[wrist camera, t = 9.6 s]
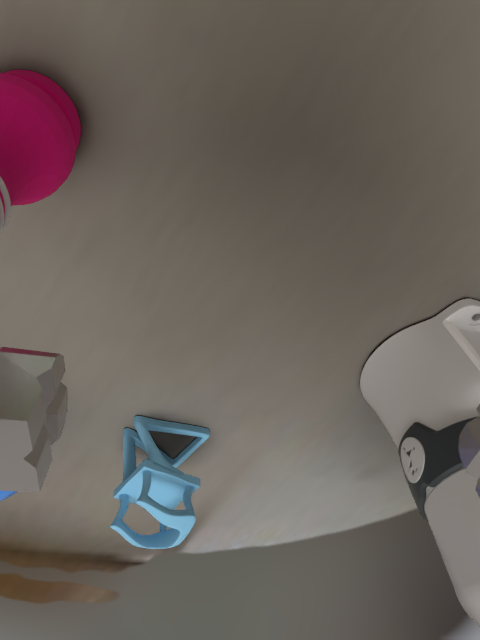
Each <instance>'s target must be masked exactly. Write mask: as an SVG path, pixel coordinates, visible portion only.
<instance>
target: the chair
mask: <svg viewBox="0 0 480 640" xmlns="http://www.w3.org/2000/svg"><path fill="white" fill-rule="evenodd" d="M134 426H135V428H136V430H137V432H138V433H137V432H136V431H134V430H132V429H130V428H125V429H124V430H123V481H122V483H121V484H120V485H119V486H118V487H117V488H116V489H115V490H114V496H113V498H116V499H119V500H120V508H119V511H118V513H117V516H116V518H115V520H114V521H113V523H112V524H111V526H110V528H112V529H114V530H116V531H117V532H118V533H120V534H121V535H122V536H123V537H124V538H125V539H126V540H127V541H128V542H129V543H131V544H132V545H134V546H137V547H143V548H150V549H164V548H171V547H174V546H177V545H178V544H180V543H181V542H182V541H183V540H184V539H185V537H186V536H187V535H188V533H189V532H190V530H191V529H192V527H193V525H194V523H195V521H196V517H195V513H194V509H193V506H192V503H191V495H192V493H193V492H194V491H195V490H197V489H198V488H199V487H200V479H199V478H196V477H194V476H191V475H187V474H184V473H183V472H181V471H180V470H178V469H176V468H177V467H178V466H179V465H180V464H181V463H182V462H183V461H184V460H185V459H186V458H187V457H189V456H190V455H191V454H192V453H193V452H194V451H195V450H196V449H197V448H198V447H199V446H200V445H201V444H202V443H203V442H204V441H206V440H207V439H208V438H209V429H207V428H204V427H199V426H194V425H188V424H181V423H175V422H169V421H162V420H157V419H152V418H147V417H143V416H135V417H134ZM148 430H151V431H158V432H166V433H174V434H182V435H189V436H197V438H196V439H195V440H194V441H193V442H192V443H191V444H190V445H189V446H188V447H186V448H185V449H184V450H183V451H182V452H181V453H180V454H179V455H178V456H177V457H176V458H175V459H172V458H170V457H169V456H168V455H166V454H165V453H164V452H162V451H161V450H160V449H159V448H157V446H156V444H155V443H154V441H153V439H152V437H151V435H150V433H149V431H148ZM135 445H136V446H138V447H139V448H141V449H142V450H144V451H145V452H146V453H147V456H148V459H145V460H144V461H143V462H142V463H141V464H140V465H139V466H138V467H137V468H136V454H135ZM182 501H183V502H184V505H185V507H186V510H173V509H174V508H175V507H176V506H177V505H178V504H179V503H180V502H182ZM129 502H130V503H135V504H138V505H140V506H142V507H143V508H145V509H146V510H147V511H148V512H149V513H150V514H151V515H152V516H153V517H154V518H156V519H157V520H158V521H159V522H160V532H159V533H157V534H153V535H140V534H137V533H135V532H134V531H133V530H131V529H130V528H129V527H128V526H127V525H126V524H125V523H124V522H123V521H122V518H123V516H124V514H125V513H126V511H127V508H128V503H129ZM167 526H168V527H171V529H169V530H167V531H166V529H167Z"/></svg>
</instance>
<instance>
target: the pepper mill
mask: <svg viewBox="0 0 480 640" xmlns="http://www.w3.org/2000/svg"><path fill="white" fill-rule="evenodd" d="M80 137H81V124H80V119H79V116H78V113H77V110H76V108H75V106H74V104H73V102H72V101H71V99H70V98H69V96H68V95H67V94H66V92H65V91H64V90H63V89H62V88H61V87H60V86H59V85H58V84H56V83H55V82H54V81H52V80H51V79H49V78H48V77H46V76H44V75H42V74H39V73H37V72H33V71H30V70H10V71H7V72H4V73H0V233H1V232H2V230H3V229H4V228H5V227H6V225H7V223H8V221H9V217H10V213H11V205H25V204H30V203H34V202H36V201H39V200H41V199H43V198H45V197H47V196H50V195H51V194H52V193H54V192H55V191H56V190H57V189H58V188H59V187H60V186H61V185H62V184H63V183H64V182H65V180H66V179H67V178H68V176H69V174H70V173H71V170H72V167H73V164H74V159H75V152H76V150H77V148H78V145H79V142H80Z"/></svg>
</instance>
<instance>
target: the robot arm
mask: <svg viewBox="0 0 480 640" xmlns="http://www.w3.org/2000/svg"><path fill="white" fill-rule="evenodd" d="M475 314H476V315H475ZM64 372H65V364H64V357H63V356H62V355H61V354H57V353H49V352H40V351H32V350H24V349H15V348H7V347H2V348H1V347H0V491H23V492H40V490H41V488H42V485H43V482H44V480H45V477H46V474H47V471H48V469H49V466H50V463H51V461H52V455H51V447H50V445H51V444H53V443H54V442H55V441H57V440H58V439H59V438H60V436H61V433H62V430H63V427H64V423H65V418H66V413H67V404H68V394H67V388H66V387H65V386H64V385H63V384H62V382H61V380H62V377H63V375H64ZM360 388H361V392H362V395H363V397H364V399H365V400H366V402H367V403H368V404H369V405H370V406H371V407H372V409H373V410H374V411H375V413H376V414H377V415H378V417H379V418H380V420H381V421H382V423H383V424H384V426H385V428H386V429H387V431H388V433H389V434H390V436H391V438H392V440H393V442H394V443H395V445H396V447H397V449H398V452H399V456H400V460H401V464H402V468H403V471H404V474H405V477H406V480H407V482H408V485H409V488H410V490H411V493H412V495H413V498H414V500H415V502H416V505H417V507H418V509H419V512H420V514H421V515H422V517H423V518H424V519H425V520H427V521H428V522H429V524H430V527H431V529H432V532H433V534H434V537H435V540H436V542H437V545H438V547H439V550H440V553H441V555H442V557H443V560H444V563H445V565H446V568H447V570H448V573H449V575H450V578H451V580H452V583H453V586H454V588H455V591H456V594H457V596H458V599H459V601H460V603H461V605H462V606H463V608H464V609H465V611H466V612H467V613H468V615H469V616H470V617H471V619H472V620H473V621H474V622H475V623H476V624H477V625H478V626H479V627H480V301H477V300H473V299H462V300H460V301H458V302H456V303H454V304H452V305H451V306H449V307H448V308H446V309H445V310H444V311H442V312H441V313H440V314H438V315H437V316H435V317H433V318H431V319H429V320H427V321H424V322H421V323H418V324H416V325H413V326H411V327H408V328H406V329H404V330H402V331H400V332H399V333H397V334H395V335H394V336H392V337H391V338H389V339H388V340H386V341H385V342H384V343H383V344H382V345H380V346H379V347H378V348H377V349H376V350H375V351H374V353H373V354H372V355H371V356H370V358H369V359H368V361H367V362H366V364H365V366H364V368H363V371H362V374H361V378H360Z"/></svg>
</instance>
